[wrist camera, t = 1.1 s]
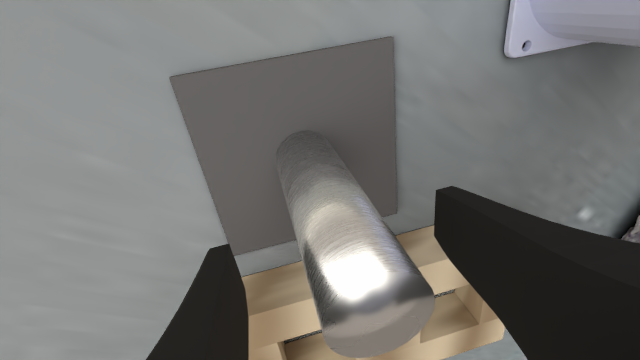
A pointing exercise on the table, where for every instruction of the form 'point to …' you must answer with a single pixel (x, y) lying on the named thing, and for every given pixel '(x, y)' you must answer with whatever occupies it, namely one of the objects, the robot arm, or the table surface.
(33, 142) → the table surface
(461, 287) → the hole block
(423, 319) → the peg
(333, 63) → the mat
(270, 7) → the table surface
